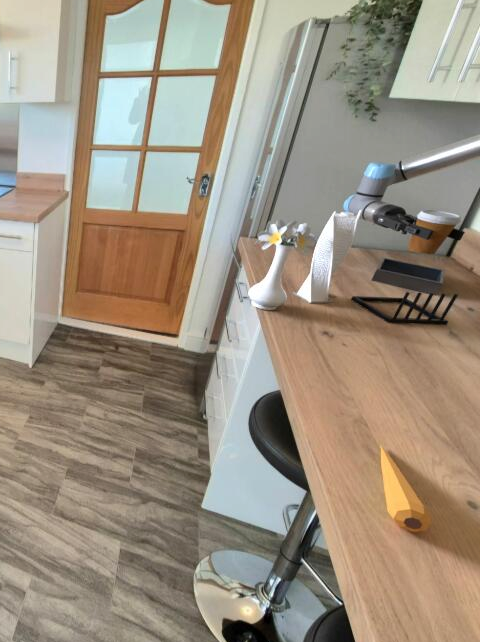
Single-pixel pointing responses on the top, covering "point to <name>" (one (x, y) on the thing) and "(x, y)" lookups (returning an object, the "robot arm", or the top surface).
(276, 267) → the flower vase
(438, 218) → the disposable coffee cup
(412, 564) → the top surface
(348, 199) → the robot arm
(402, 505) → the carrot
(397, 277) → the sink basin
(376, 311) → the dish rack
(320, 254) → the skyscraper
